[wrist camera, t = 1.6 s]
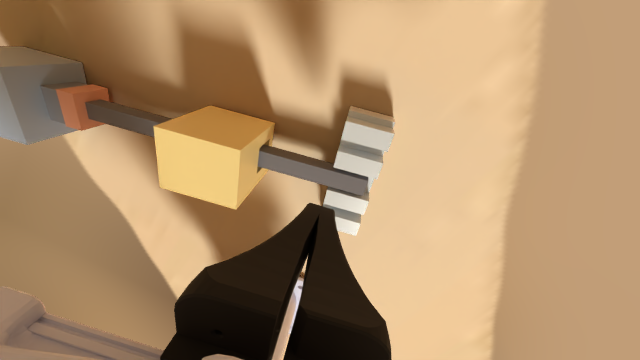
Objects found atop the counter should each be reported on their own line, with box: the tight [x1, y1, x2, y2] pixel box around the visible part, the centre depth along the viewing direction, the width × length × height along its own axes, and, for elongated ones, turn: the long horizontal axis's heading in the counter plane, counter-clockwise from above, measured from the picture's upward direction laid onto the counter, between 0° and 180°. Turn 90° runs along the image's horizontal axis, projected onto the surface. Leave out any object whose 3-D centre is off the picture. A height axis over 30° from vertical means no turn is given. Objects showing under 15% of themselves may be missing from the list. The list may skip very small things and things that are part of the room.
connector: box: [0, 46, 87, 145], centre depth 19 cm, size 5×7×5 cm
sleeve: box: [153, 105, 275, 209], centre depth 17 cm, size 4×5×6 cm
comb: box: [323, 106, 395, 236], centre depth 18 cm, size 9×3×3 cm, turn 167°
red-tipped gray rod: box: [56, 84, 368, 196], centre depth 18 cm, size 23×3×3 cm, turn 77°
